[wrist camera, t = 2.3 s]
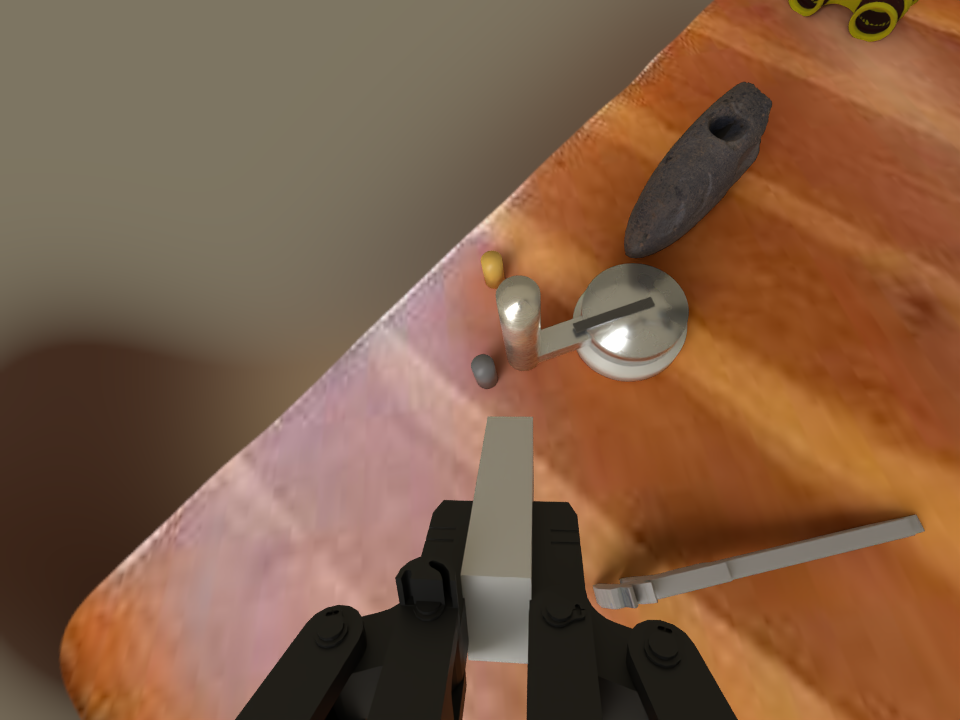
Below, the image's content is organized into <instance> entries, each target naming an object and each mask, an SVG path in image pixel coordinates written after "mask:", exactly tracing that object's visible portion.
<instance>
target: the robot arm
mask: <svg viewBox="0 0 960 720" xmlns="http://www.w3.org/2000/svg"><path fill="white" fill-rule="evenodd" d="M395 579H396V585H397V590H398V596H399V602H400V603H399V604H398V605H396V606H394V607H392V608H391V609H388V610H385V611H382V612H379V613H375V614H371V615H367V616H363V617H361V615H360V614H359V612H358V611H357V610H356V609H354V608H352V607H350V606H344V605H336V606H332V607H328V608H325V609H324V610H322V611H320V612H318V613H317V614H315V615H314V616H313V617H312V618H311V619H310V620H309V621H308V622H307V623H306V625H305V626H304V627H303V629H302V630H301V631H300V633H299V634H298V635H297V637H296V638H295V639H294V641H293V642H292V643H291V645H290V646H289V647H288V649H287V650H286V652H285V653H284V654H283V656H282V657H281V658H280V660H279V661H278V662H277V664H276V665H275V666H274V668H273V669H272V670H271V672H270V673H269V675H268V676H267V677H266V679H265V680H264V681H263V683H262V684H261V685H260V687H259V688H258V689H257V691H256V692H255V693H254V695H253V696H252V697H251V699H250V700H249V702H248V703H247V704H246V706H245V707H244V708H243V710H242V711H241V712H240V714H239V715H238V716H237V718H236V719H235V720H462V717H463V709H464V701H465V693H466V672H465V667H466V659H467V652H468V657H469V660H477V661H493V662H508V663H524V664H528V677H527V720H738V719H737V718H736V716H735V714H734V712H733V711H732V709H731V707H730V705H729V704H728V702H727V700H726V698H725V697H724V695H723V693H722V691H721V690H720V688H719V686H718V684H717V683H716V681H715V679H714V677H713V676H712V674H711V672H710V671H709V669H708V667H707V665H706V664H705V662H704V660H703V658H702V657H701V655H700V653H699V651H698V650H697V648H696V646H695V644H694V643H693V642H692V641H691V639H690V638H689V637H688V636H687V634H686V633H685V632H683V631H682V630H680V629H679V628H677V627H676V626H675V625H673V624H670V623H667V622H664V621H661V620H646V621H644V622H641V623H639V624H637V625H636V626H635V627H634V628H633V629H632V628H629V627H626V626H623V625H620V624H617V623H615V622H613V621H611V620H608V619H606V618H605V617H603V616H602V615H601V614H599V613H598V612H597V611H596V610H595V609H594V608H593V606H592V605H591V603H590V602H589V600H588V598H587V594H586V590H585V581H584V572H583V563H582V554H581V546H580V536H579V527H578V518H577V514H576V513H575V511H574V510H573V508H572V507H571V506H570V504H569V503H568V502H540V501H534V472H533V417H488V418H487V424H486V430H485V436H484V441H483V447H482V453H481V459H480V465H479V471H478V476H477V482H476V488H475V494H474V500H473V501H455V500H443V502H442V503H441V504H440V505H439V506H438V507H437V509H436V510H435V511H434V512H433V515H432V519H431V522H430V526H429V530H428V533H427V537H426V541H425V544H424V548H423V552H422V555H421V557H419V558H416V559H414V560H412V561H409V562H408V563H407V564H406V565H405V566H403V567H402V568H401V569H400V571H399V573H398V574H397V576H396V578H395Z"/></svg>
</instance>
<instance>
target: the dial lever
mask: <svg viewBox="0 0 960 720" xmlns="http://www.w3.org/2000/svg"><path fill="white" fill-rule="evenodd" d="M496 302H497V307H498V312H499V317H500V323H501V328H502V333H503V338H504V344H505V349H506V354H507V359H508V362H509V364H510V365H511V366H512V367H513V368H514V369H516V370H519V371H528V370H531V369H533V368H535V367H536V366H537V365H538V363H539V362H542V361H545V360H548V359H551V358H554V357H557V356H560V355H563V354H565V353H568V352H571V351H574V350H577V349H580V348H583V347H586V346H590V348H591V349H592V350H593V351H594V352H595V353H596V354H598V355H599V356H600V357H602V358H603V359H605V360H607V361H609V362H611V363H614V364H617V365H622V366H629V367H636V366H644V365H648V364H651V363H654V362H656V361H658V360H660V359H661V358H663V357H664V356H665V355H667V354H668V353H669V352H670V351H671V350H672V348H673V347H674V346H675V344H676V343H677V341H678V340H679V338H680V337H681V335H682V333H683V332H684V330H685V328H686V325H687V322H688V316H689V309H688V303H687V299H686V296H685V294H684V292H683V290H682V289H681V287H680V286H679V285H678V283H677V282H676V281H675V280H674V279H673V278H672V277H671V276H669V275H668V274H666V273H665V272H663V271H661V270H659V269H657V268H655V267H652V266H648V265H644V264H635V263H631V264H621V265H617V266H614V267H611V268H609V269H607V270H605V271H603V272H602V273H600V274H599V275H598V276H596V277H595V278H594V279H593V280H592V282H591V283H590V284H589V286H588V287H587V289H586V291H585V294H584V297H583V301H582V307H581V313H580V317H577V318H574V319H571V320H568V321H565V322H562V323H560V324H557V325H554V326H551V327H548V328H545V329H542V330H541V307H540V289H539V287H538V285H537V284H536V282H535V281H533V280H532V279H530V278H528V277H526V276H512V277H509V278H507V279H505V280H504V281H503V282H502V283H501V284H500V285H499V287H498V288H497V291H496Z"/></svg>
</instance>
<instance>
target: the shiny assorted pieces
mask: <svg viewBox="0 0 960 720" xmlns="http://www.w3.org/2000/svg"><path fill="white" fill-rule="evenodd" d="M481 264H482V269H483V273H484V278H485V282H486V285H487V286H488V287H490V288H493V289H496V288H498V287H499V285H500V284H501V283H502V282H503V281H504V280H505V276H504V269H503V262H502V256H501V255H500V254H499V253H498V252H496V251H488V252H486V253H484V254H483V256H482V257H481ZM584 294H585V292H584V293H583V294H582V296H581V297H580V299H579V300H578V302H577V304H576V307H575V310H574V314H573V319H574V318H577V317H580V313H581V307H582V301H583V297H584ZM686 334H687V325H686V328H685V330H684V332H683V333H682V335H681V337H680V338H679V340H678V341H677V343H676V344H675V346H674V347H673V348H672V350H671V351H670V352H669V353H668V354H667V355H665V356H664V357H663V358H661V359H660V360H658V361H656V362H654V363H651V364H648V365H644V366H636V367H629V366H622V365H617V364H614V363H611V362H609V361H607V360H605V359H603V358H602V357H600V356H599V355H598V354H596V353H595V352H594V351H593V350H592V349H591V348H590V346H586V347H583V348H580V349H577V352H578V354H579V356H580V357H581V359H582V360H583V361H584V362H585V363H586V364H587V365H588V366H589V367H590V368H591V369H592V370H594V371H596V372H597V373H599V374H601V375H603V376H605V377H607V378H610V379H614V380H618V381H626V382H629V381H640V380H645V379H648V378H651V377H653V376H655V375H657V374H659V373H661V372H662V371H663V370H665V369H666V368H667V367H668V366H669V365H670V364H671V363H672V361H673V360H674V359H675V357H676V356H677V354H678V353H679V352H680V350H681V348H682V346H683V344H684V342H685V338H686ZM471 368H472V371H473V373H474V376H475V378H476V381H477V383H478V385H479V386H480V387H482V388H484V389H490V388H492V387H494V386H495V385H496V383H497V381H498V376H497V372H496V369H495V365H494V361H493V359H492V358H491V357H490V356H488V355H485V354H481V355H478V356H476V357H475V358H474V359H473V361H472V363H471Z"/></svg>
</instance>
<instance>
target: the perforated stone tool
mask: <svg viewBox="0 0 960 720" xmlns="http://www.w3.org/2000/svg"><path fill="white" fill-rule="evenodd" d="M771 107H772V101H771V100H770V98H768V97H767V96H766V95H765V94H763V93H761V91H760V90H759V89H758V88H756V87H755V85H754V84H751V83H746V82H742V83H739V84H737V85H736V86H735V87H733V88H732V89H731V90H729V91H728V92H727V93H726V94H724V95H723V96H722V97H721V98H719V99H718V100H717V101H716V102H715V103H714V104H713V105H712V106H711V107H709V108H708V109H707V110H706V111H705V112H704V113H703V114H702V115H701V116H700V117H699V118H698V119H697V120H696V121H695V122H694V123H693V124H692V125H691V126H690V127H689V129H688V130H687V131H686V132H685V133H684V134H683V135H682V137H681V138H679V140H678V141H677V142H676V143H675V144H674V146H673V147H672V148H671V149H670V150H669V152H668V153H667V154H666V156H665V157H664V158H663V160H662V161H661V162H660V164H659V165H658V167H657V168H656V170H655V171H654V173H653V174H652V176H651V177H650V179H649V181H648V182H647V184H646V186H645V188H644V189H643V191H642V193H641V195H640V197H639V199H638V201H637V203H636V205H635V206H634V209H633V211H632V213H631V216H630V218H629V221H628V225H627V228H626V233H625V240H624V248H625V252H626V253H625V254H626V255H627V256H629V257H631V258H642V257H645V256H649V255H651V254H654V253H656V252H658V251H660V250H662V249H664V248H666V247H667V246H669V245H671V244H672V243H674V242H675V241H676V240H678V239H679V238H680V237H682V236H683V235H684V234H685V233H687V232H688V231H689V230H690V229H691V228H692V227H694V226H695V225H696V224H697V223H698V222H699V221H700V220H701V219H702V218H703V217H704V216H705V215H706V214H707V213H708V212H709V211H710V210H711V209H712V208H713V207H714V206H715V205H716V204H717V203H718V202H719V201H720V200H721V199H722V198H723V197H724V196H725V194H726V192H727V191H728V189H729V188H730V187H731V186H732V185H733V184H734V183H735V182H736V181H737V180H738V179H739V178H740V177H741V176H742V175H743V173H744V172H745V171H746V170H747V169H748V168H749V167H750V166H751V164H752V163H753V162H754V161H755V160H756V158H757V155H758V153H759V145H760V142H761V136H762V135H763V133H764V131H765V129H766V126H767V123H768V118H769V113H770V109H771Z"/></svg>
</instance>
